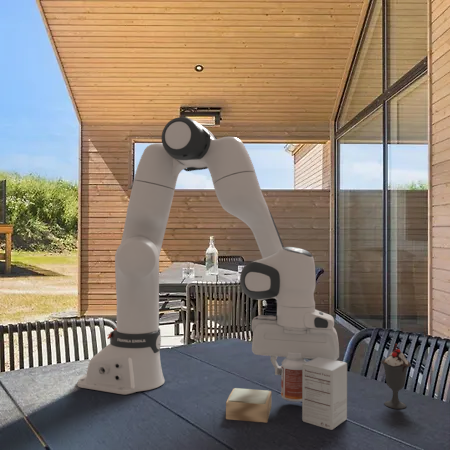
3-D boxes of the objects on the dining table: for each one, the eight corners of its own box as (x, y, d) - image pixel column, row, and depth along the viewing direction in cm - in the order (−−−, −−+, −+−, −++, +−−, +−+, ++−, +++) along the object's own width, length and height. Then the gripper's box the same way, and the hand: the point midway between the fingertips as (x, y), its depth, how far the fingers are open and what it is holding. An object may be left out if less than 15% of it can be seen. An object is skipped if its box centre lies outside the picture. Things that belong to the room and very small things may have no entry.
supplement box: (317, 411, 113) (318, 356, 113) (347, 420, 108) (348, 362, 108) (300, 421, 107) (301, 363, 107) (332, 430, 102) (332, 369, 102)
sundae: (391, 411, 113) (392, 346, 113) (375, 401, 119) (375, 339, 119) (416, 409, 115) (417, 344, 114) (398, 399, 121) (399, 337, 121)
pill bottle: (313, 399, 115) (314, 352, 115) (292, 404, 112) (294, 355, 112) (295, 391, 121) (296, 346, 120) (275, 396, 117) (276, 349, 117)
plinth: (225, 419, 108) (226, 400, 108) (233, 404, 117) (233, 387, 117) (267, 422, 106) (267, 404, 106) (271, 407, 115) (271, 390, 115)
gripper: (249, 316, 115) (248, 376, 115) (340, 322, 111) (338, 383, 111) (253, 312, 121) (252, 368, 121) (339, 316, 117) (338, 375, 117)
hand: (294, 375), depth 116 cm, fingers closed on pill bottle, 6 cm apart
